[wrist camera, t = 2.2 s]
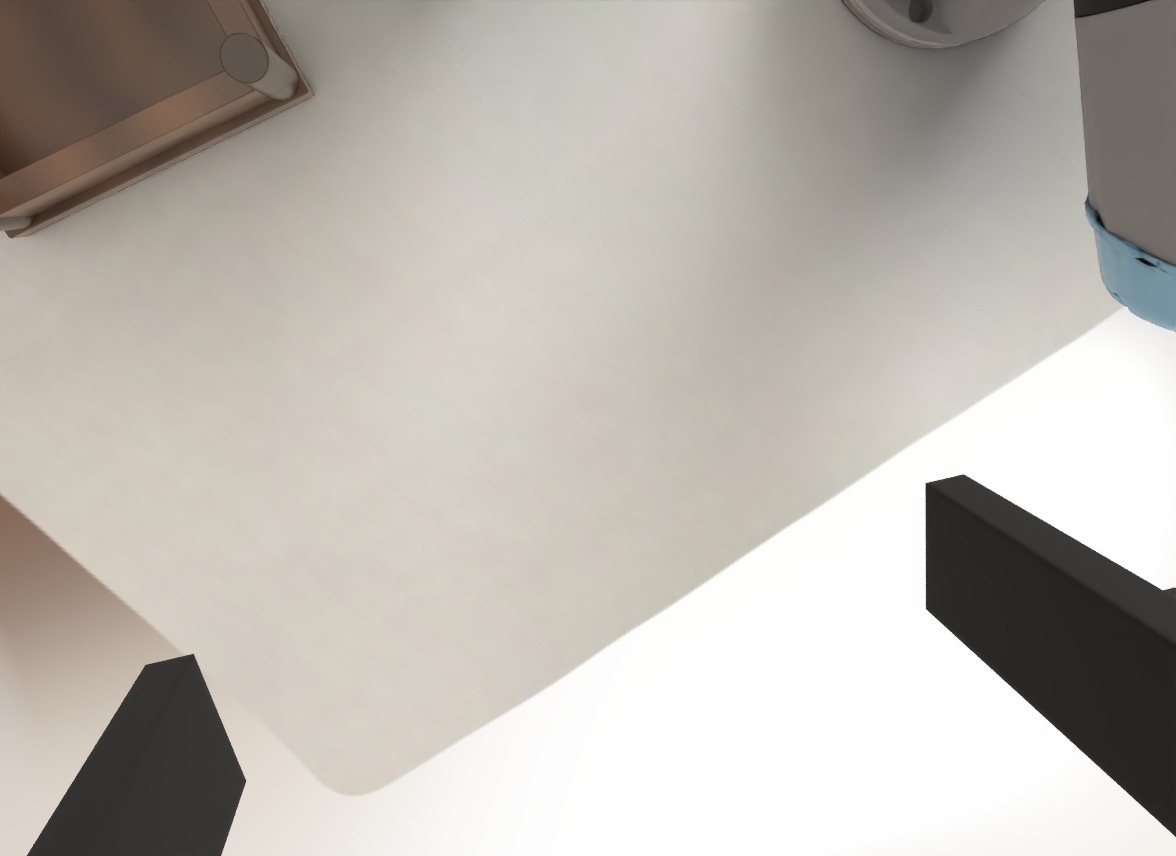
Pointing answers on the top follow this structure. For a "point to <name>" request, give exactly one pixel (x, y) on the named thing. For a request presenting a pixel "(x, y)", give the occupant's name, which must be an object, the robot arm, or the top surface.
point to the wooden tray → (126, 94)
